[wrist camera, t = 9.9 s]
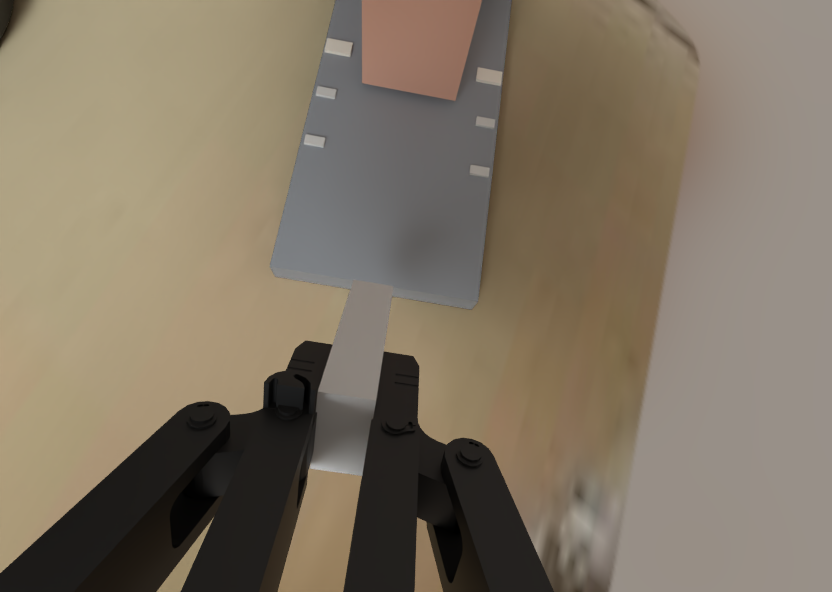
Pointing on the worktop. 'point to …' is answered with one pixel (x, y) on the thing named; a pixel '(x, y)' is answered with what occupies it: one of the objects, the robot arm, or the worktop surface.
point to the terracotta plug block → (417, 44)
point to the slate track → (395, 172)
